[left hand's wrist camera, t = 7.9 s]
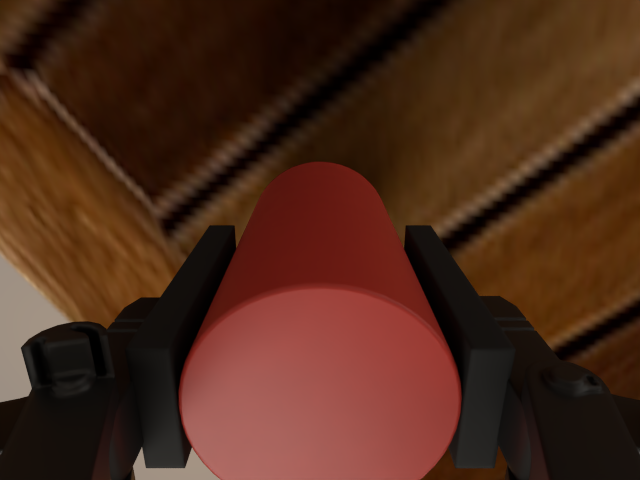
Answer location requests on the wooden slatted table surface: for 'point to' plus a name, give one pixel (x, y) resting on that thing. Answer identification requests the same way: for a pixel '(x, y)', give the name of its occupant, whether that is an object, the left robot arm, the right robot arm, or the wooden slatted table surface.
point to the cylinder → (320, 345)
